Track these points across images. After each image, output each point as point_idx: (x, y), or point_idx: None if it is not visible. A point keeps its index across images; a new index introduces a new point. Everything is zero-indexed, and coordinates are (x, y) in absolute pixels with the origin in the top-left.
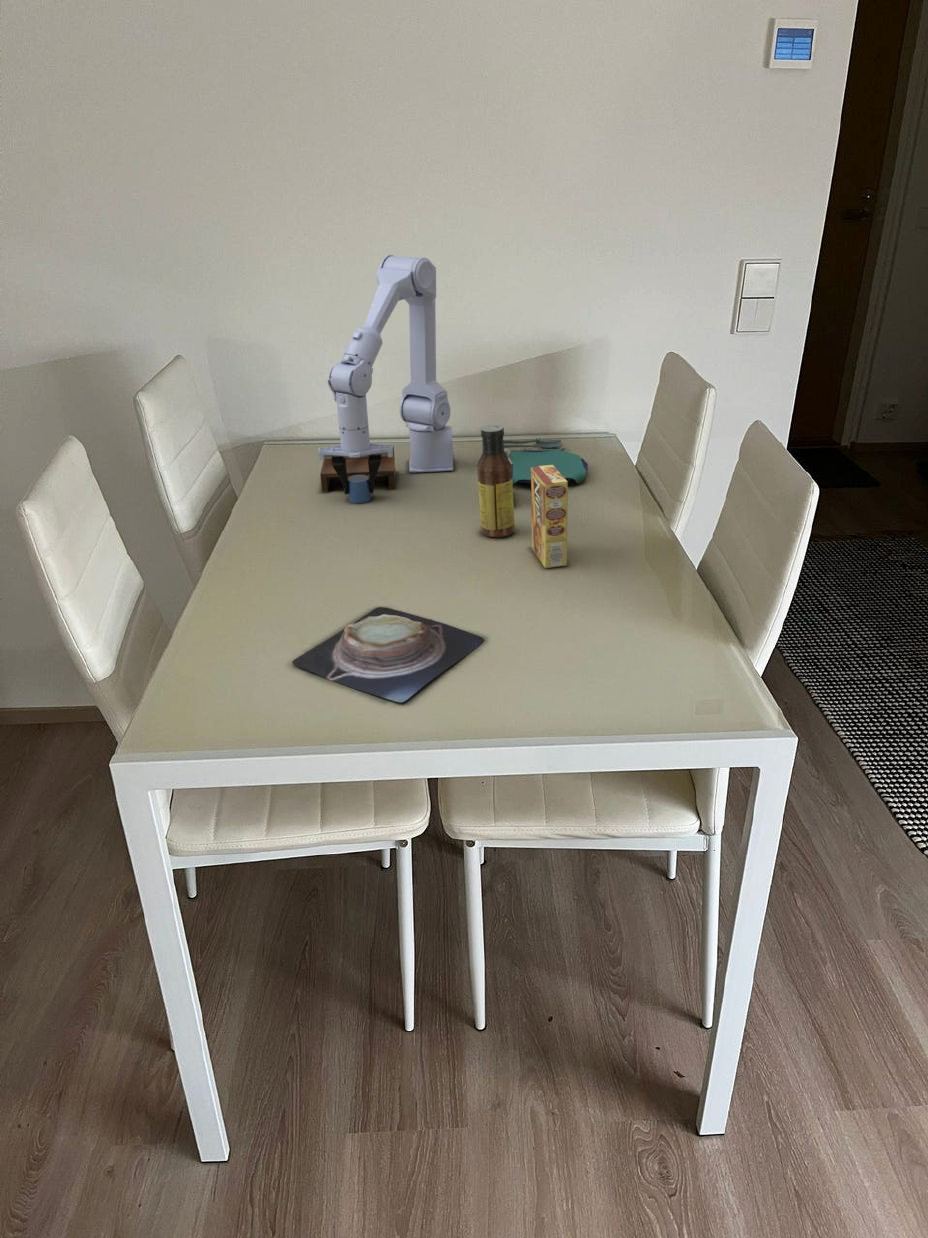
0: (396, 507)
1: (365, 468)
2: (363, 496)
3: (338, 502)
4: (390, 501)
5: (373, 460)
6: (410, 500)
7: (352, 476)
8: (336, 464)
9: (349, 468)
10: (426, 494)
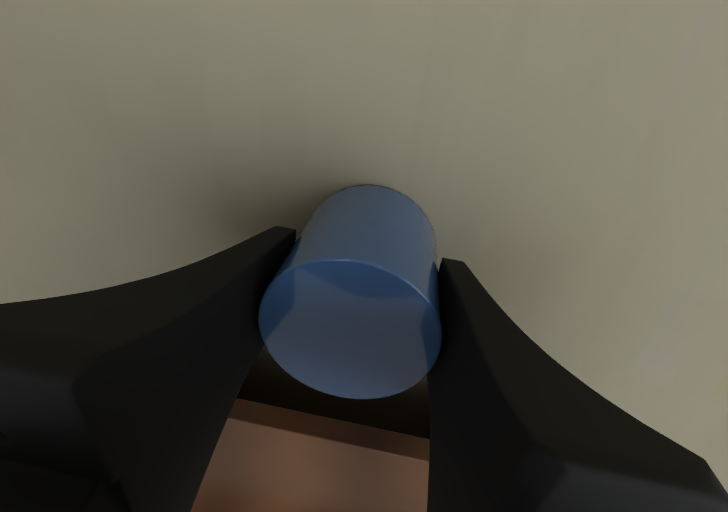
0: (137, 35)
1: (295, 469)
2: (345, 201)
3: (506, 244)
4: (193, 163)
5: (4, 414)
6: (76, 142)
7: (389, 383)
8: (685, 503)
9: (386, 495)
10: (16, 205)
